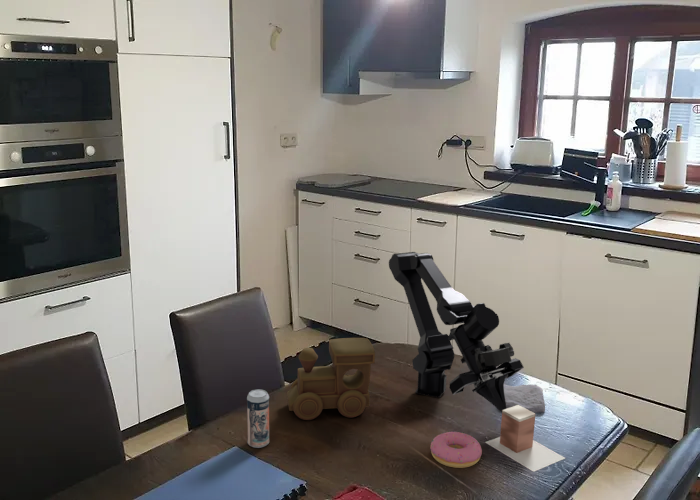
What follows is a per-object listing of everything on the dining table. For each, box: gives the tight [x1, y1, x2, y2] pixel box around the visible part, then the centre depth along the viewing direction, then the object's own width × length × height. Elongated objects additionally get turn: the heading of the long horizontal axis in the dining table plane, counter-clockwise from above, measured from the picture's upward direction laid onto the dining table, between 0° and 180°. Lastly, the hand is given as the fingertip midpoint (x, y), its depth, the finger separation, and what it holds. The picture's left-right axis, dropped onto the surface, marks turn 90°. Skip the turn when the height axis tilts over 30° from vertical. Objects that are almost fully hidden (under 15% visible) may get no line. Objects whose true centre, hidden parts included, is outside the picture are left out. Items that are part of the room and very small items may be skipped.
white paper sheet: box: [485, 436, 566, 473], centre depth 151 cm, size 14×10×1 cm
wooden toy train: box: [286, 337, 376, 421], centre depth 166 cm, size 20×11×17 cm, turn 99°
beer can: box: [246, 388, 270, 449], centre depth 150 cm, size 5×5×12 cm
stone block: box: [504, 383, 546, 414], centre depth 172 cm, size 12×5×10 cm
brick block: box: [499, 405, 536, 453], centre depth 152 cm, size 5×5×8 cm
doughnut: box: [429, 431, 483, 469], centre depth 147 cm, size 11×11×4 cm
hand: (504, 410), depth 154 cm, fingers closed
